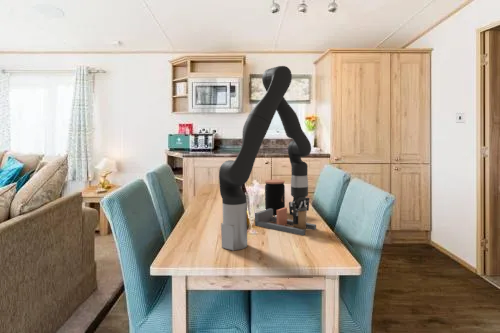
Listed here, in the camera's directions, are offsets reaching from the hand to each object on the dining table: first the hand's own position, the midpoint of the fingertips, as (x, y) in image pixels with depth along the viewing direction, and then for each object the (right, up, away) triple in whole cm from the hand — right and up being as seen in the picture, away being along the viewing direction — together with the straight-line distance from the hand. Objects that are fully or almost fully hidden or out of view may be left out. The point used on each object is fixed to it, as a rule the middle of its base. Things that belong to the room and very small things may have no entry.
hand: (299, 222), depth 143 cm
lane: (-6, -3, +5) cm, 9 cm away
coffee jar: (-8, -1, +32) cm, 33 cm away
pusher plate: (-8, -3, +7) cm, 11 cm away
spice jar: (0, -3, 0) cm, 3 cm away
